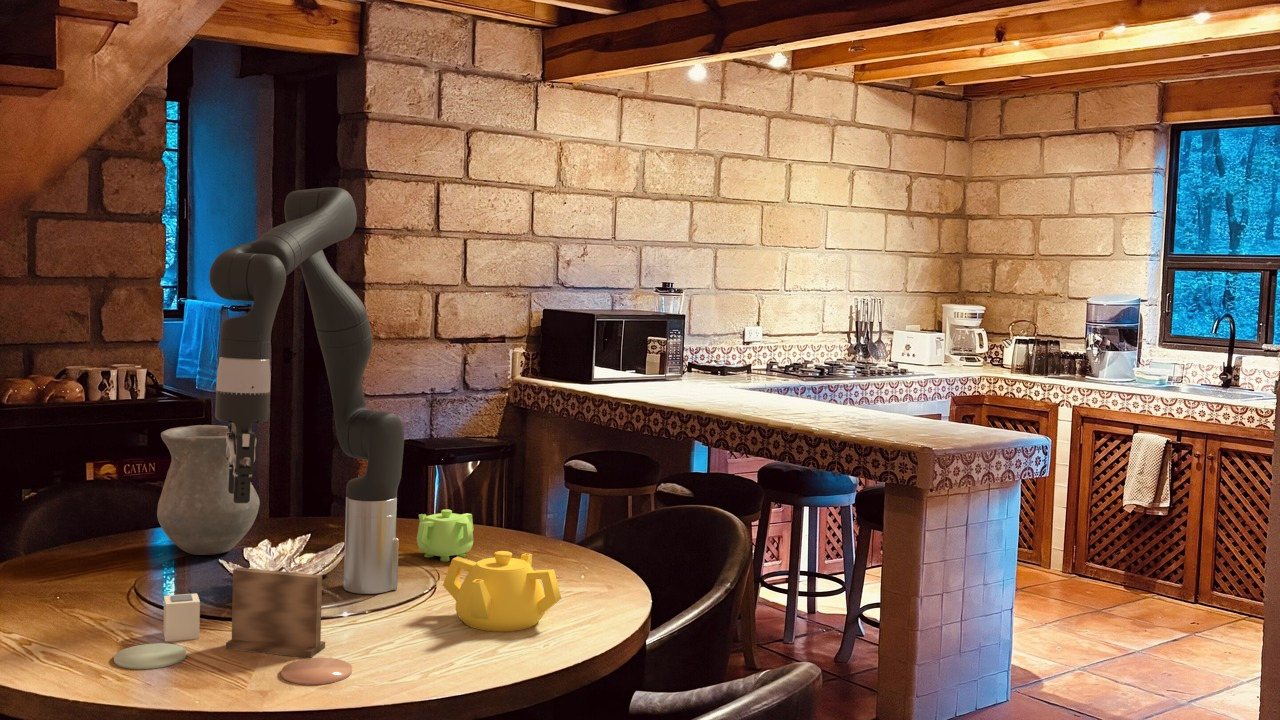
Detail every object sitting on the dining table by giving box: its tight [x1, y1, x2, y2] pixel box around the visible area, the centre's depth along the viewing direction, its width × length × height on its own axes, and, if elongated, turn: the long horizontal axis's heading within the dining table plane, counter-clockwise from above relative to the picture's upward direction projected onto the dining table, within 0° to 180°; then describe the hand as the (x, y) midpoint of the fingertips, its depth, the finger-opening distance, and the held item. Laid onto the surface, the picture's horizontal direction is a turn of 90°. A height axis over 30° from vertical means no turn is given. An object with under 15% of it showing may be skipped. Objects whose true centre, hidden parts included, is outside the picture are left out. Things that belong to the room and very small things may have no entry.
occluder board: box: [225, 567, 326, 659], centre depth 183 cm, size 14×5×12 cm, turn 80°
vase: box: [156, 424, 260, 556], centre depth 240 cm, size 20×19×25 cm
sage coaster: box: [113, 642, 187, 670], centre depth 176 cm, size 10×10×1 cm
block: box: [162, 593, 201, 643], centre depth 187 cm, size 5×5×6 cm
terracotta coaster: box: [280, 657, 353, 686], centre depth 173 cm, size 10×10×1 cm
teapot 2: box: [442, 550, 562, 633], centre depth 202 cm, size 17×17×12 cm
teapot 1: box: [416, 509, 474, 563], centre depth 245 cm, size 12×12×10 cm
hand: (238, 497), depth 174 cm, fingers open, 8 cm apart
